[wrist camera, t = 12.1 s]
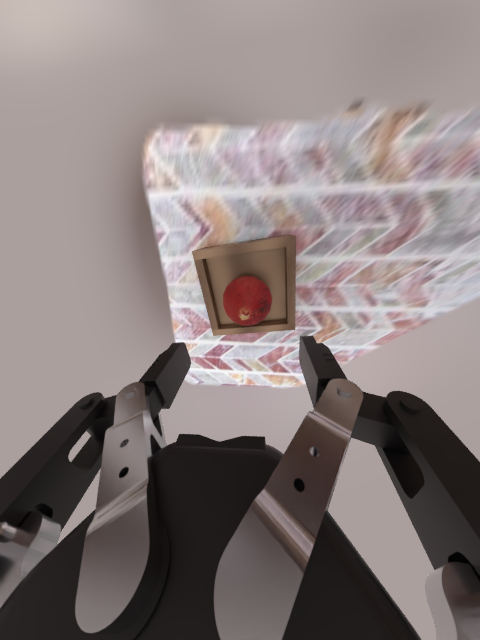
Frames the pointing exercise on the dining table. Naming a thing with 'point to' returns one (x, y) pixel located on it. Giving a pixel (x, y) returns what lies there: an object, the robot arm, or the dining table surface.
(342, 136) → the dining table surface
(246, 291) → the pomegranate
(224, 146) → the dining table surface
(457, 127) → the dining table surface
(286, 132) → the dining table surface
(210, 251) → the brown wooden tray
